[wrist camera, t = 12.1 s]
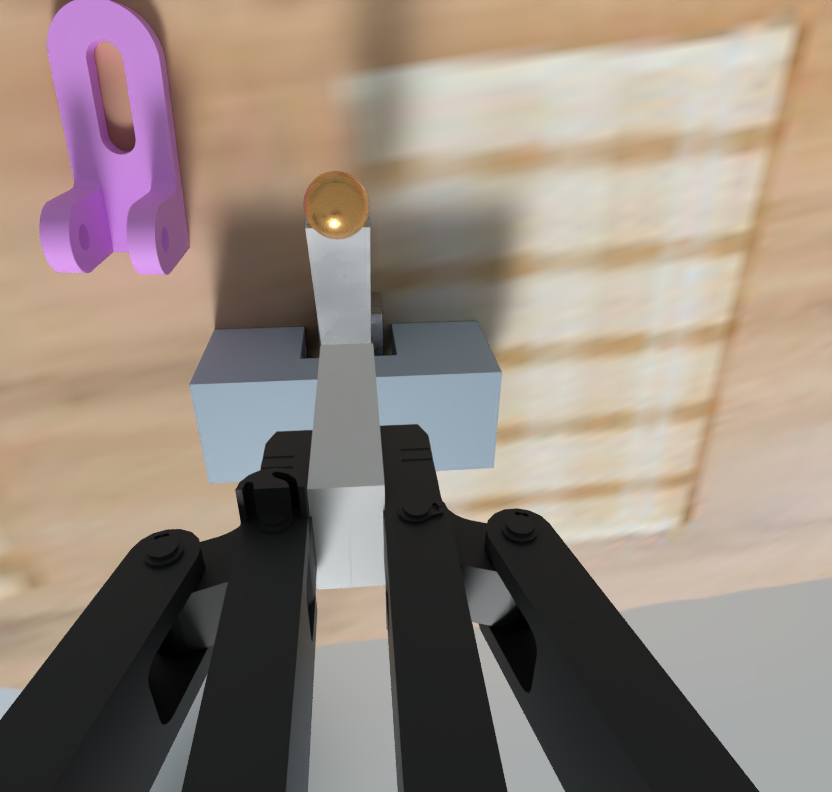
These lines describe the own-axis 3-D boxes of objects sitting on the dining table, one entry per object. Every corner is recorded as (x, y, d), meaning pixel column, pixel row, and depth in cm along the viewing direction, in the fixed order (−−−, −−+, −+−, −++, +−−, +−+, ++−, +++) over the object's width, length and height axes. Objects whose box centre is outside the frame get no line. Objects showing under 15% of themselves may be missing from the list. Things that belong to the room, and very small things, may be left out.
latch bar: (327, 368, 35) (328, 406, 34) (300, 156, 22) (300, 206, 21) (369, 367, 35) (371, 404, 34) (367, 156, 22) (370, 204, 21)
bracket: (190, 247, 39) (161, 284, 33) (97, 244, 38) (50, 281, 32) (159, 3, 32) (116, -7, 26) (46, -5, 32) (-23, -17, 26)
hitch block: (229, 417, 45) (208, 483, 38) (214, 329, 41) (189, 384, 35) (471, 406, 46) (493, 467, 40) (477, 321, 43) (501, 372, 36)
